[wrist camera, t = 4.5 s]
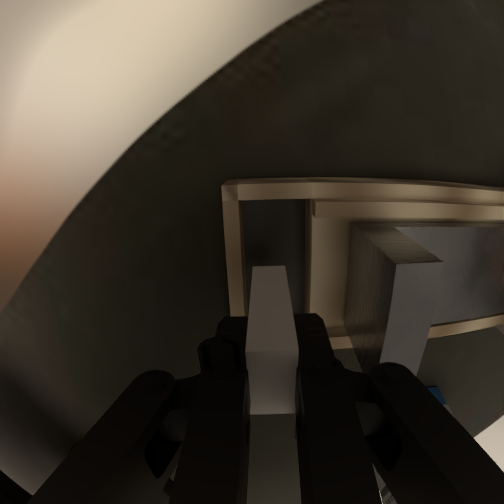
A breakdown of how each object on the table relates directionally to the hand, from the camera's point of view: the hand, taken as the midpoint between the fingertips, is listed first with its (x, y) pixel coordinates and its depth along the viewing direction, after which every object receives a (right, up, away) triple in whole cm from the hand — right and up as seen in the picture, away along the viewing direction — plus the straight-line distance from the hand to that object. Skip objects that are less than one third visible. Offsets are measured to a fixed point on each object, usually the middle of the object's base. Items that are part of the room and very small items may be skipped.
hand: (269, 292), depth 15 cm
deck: (+15, +2, +4) cm, 15 cm away
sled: (+13, +1, +1) cm, 13 cm away
